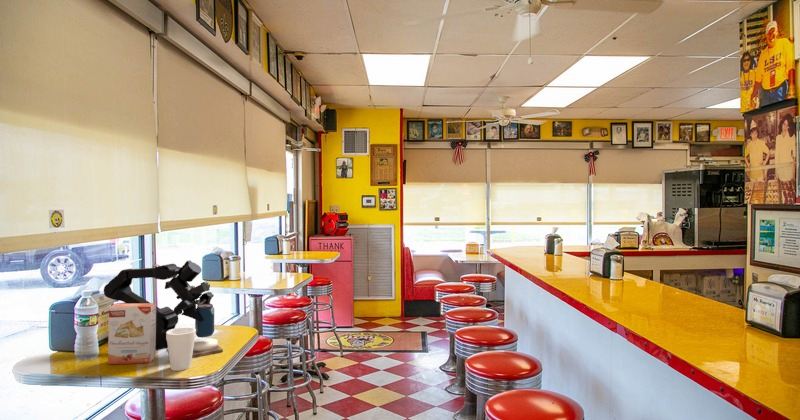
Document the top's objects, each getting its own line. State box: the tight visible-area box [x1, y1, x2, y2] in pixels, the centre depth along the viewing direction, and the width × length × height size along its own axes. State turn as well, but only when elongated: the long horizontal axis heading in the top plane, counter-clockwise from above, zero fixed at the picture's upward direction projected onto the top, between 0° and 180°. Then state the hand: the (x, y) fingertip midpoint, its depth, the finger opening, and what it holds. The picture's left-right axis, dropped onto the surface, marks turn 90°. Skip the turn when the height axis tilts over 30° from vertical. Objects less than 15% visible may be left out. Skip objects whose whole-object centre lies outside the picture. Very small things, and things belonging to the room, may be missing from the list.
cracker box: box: [107, 302, 157, 365], centre depth 161 cm, size 14×6×21 cm, turn 101°
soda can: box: [194, 303, 215, 339], centre depth 176 cm, size 7×7×12 cm
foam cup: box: [166, 326, 197, 372], centre depth 156 cm, size 10×9×13 cm
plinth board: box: [192, 337, 224, 359], centre depth 175 cm, size 16×16×3 cm
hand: (207, 318), depth 176 cm, fingers closed on soda can, 7 cm apart
